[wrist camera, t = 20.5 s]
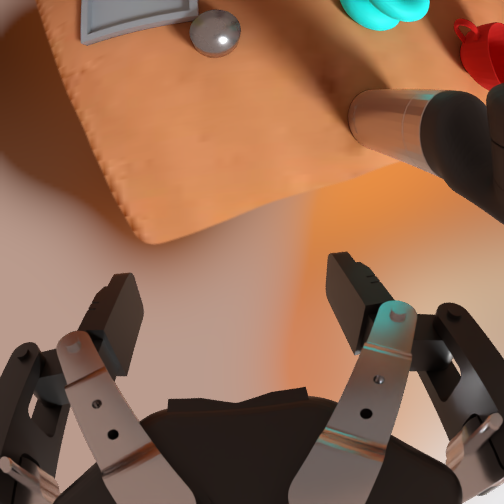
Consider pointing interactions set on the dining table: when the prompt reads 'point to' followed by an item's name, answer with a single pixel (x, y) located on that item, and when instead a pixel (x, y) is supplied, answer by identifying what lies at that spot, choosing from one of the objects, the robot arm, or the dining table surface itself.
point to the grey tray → (131, 16)
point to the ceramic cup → (483, 52)
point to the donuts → (385, 12)
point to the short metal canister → (215, 33)
